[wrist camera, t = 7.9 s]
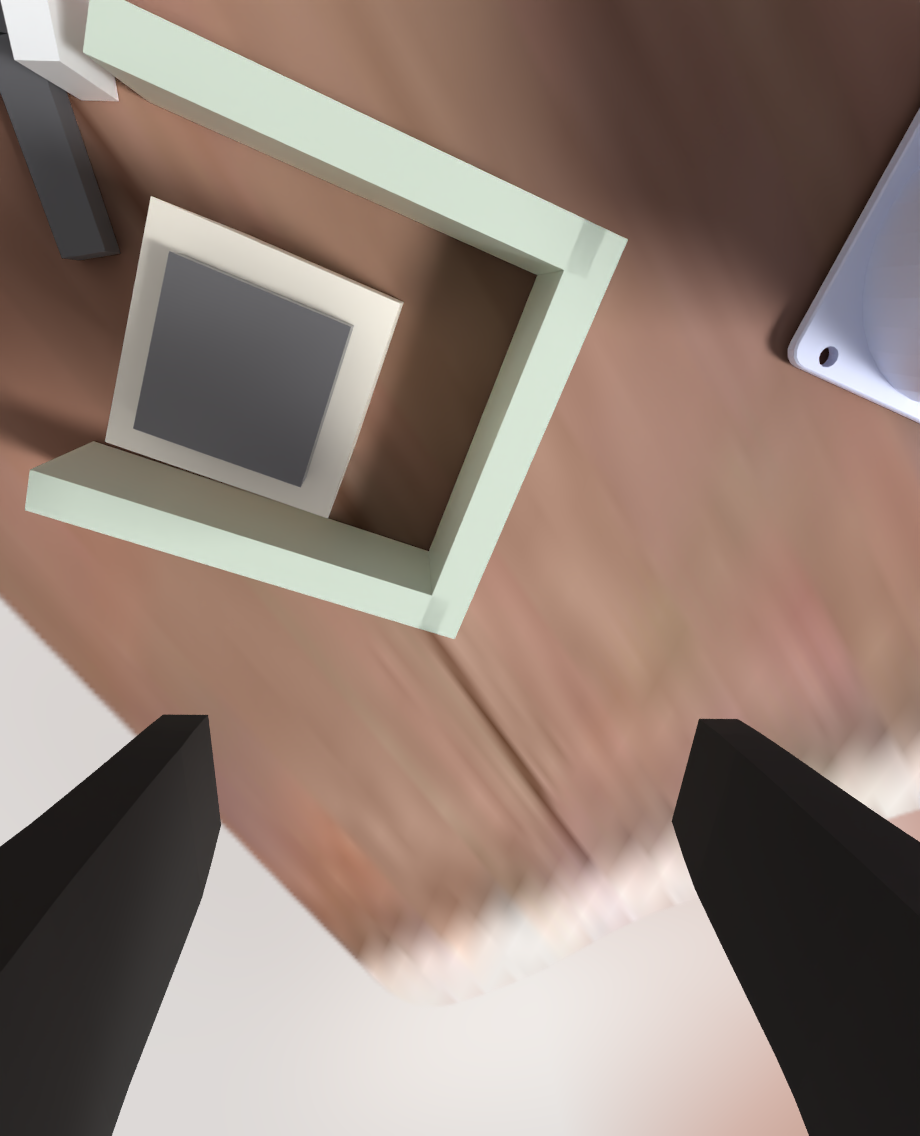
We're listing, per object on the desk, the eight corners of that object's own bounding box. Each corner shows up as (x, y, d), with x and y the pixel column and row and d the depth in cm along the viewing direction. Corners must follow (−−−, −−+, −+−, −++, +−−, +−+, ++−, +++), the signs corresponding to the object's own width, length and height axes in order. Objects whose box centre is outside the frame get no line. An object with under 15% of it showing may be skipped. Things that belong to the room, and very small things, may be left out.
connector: (354, 447, 17) (324, 529, 11) (207, 393, 16) (88, 449, 10) (403, 301, 16) (399, 303, 10) (246, 233, 15) (135, 189, 9)
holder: (589, 250, 15) (628, 239, 13) (447, 589, 19) (454, 639, 16) (157, 49, 13) (91, -16, 11) (88, 475, 17) (25, 510, 14)
